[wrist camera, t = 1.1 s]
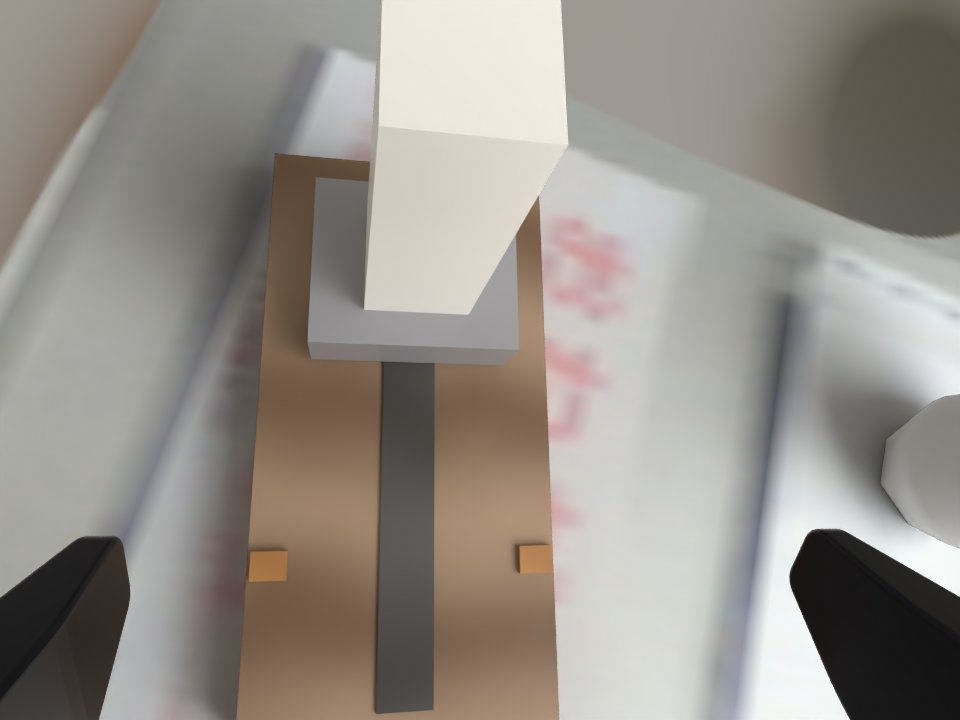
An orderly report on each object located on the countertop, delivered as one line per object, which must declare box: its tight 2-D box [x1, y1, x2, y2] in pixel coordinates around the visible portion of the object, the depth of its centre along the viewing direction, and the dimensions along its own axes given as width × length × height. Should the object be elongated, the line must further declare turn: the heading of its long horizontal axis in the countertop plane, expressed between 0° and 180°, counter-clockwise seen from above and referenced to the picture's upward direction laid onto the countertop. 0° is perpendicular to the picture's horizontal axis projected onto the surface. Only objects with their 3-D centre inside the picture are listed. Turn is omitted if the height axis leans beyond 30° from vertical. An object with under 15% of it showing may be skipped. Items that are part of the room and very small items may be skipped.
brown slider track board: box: [236, 153, 559, 720], centre depth 21 cm, size 18×9×2 cm, turn 1°
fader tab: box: [308, 0, 568, 365], centre depth 16 cm, size 5×6×11 cm
